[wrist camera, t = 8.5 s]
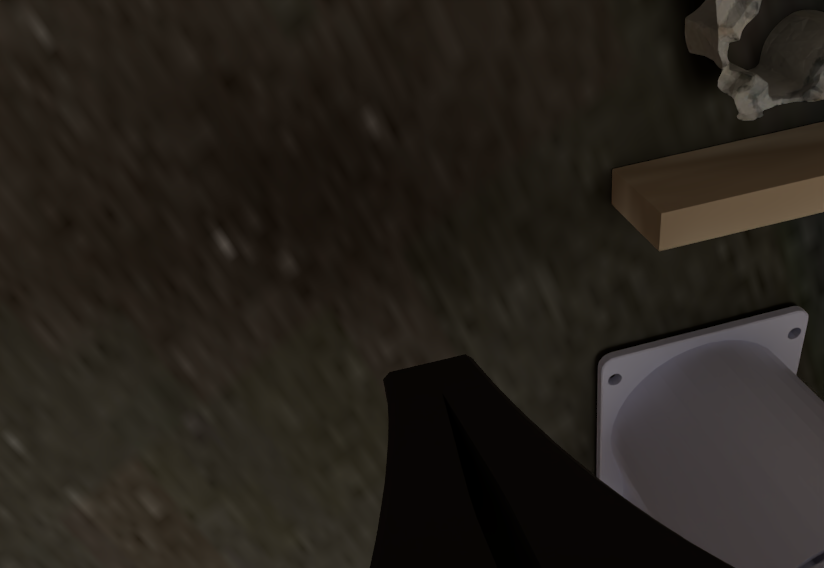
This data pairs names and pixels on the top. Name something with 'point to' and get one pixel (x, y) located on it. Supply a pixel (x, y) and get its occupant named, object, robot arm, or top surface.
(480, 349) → the top surface
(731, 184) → the box
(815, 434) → the robot arm
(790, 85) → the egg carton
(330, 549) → the top surface
